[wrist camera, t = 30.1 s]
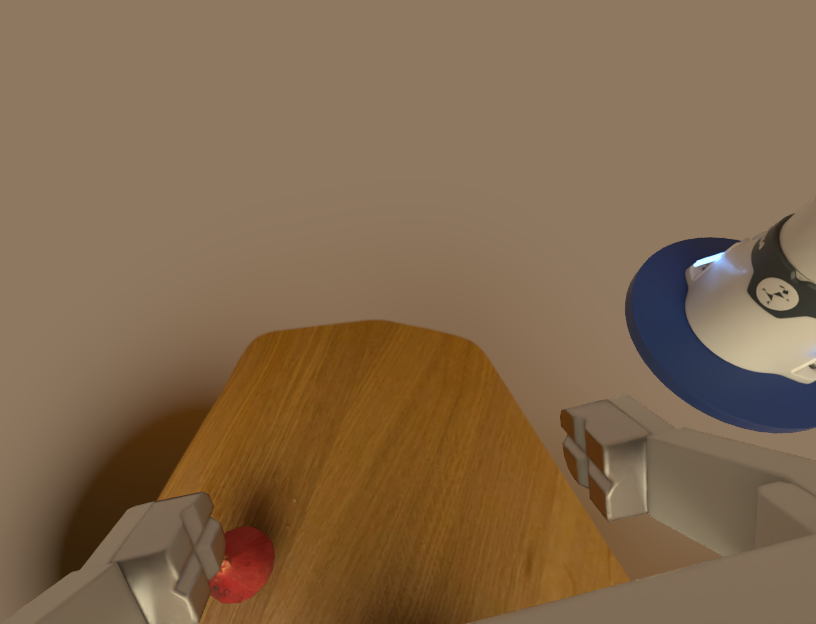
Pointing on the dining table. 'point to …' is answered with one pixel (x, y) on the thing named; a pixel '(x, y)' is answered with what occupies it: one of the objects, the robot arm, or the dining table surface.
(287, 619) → the dining table surface
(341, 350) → the dining table surface
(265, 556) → the onion
